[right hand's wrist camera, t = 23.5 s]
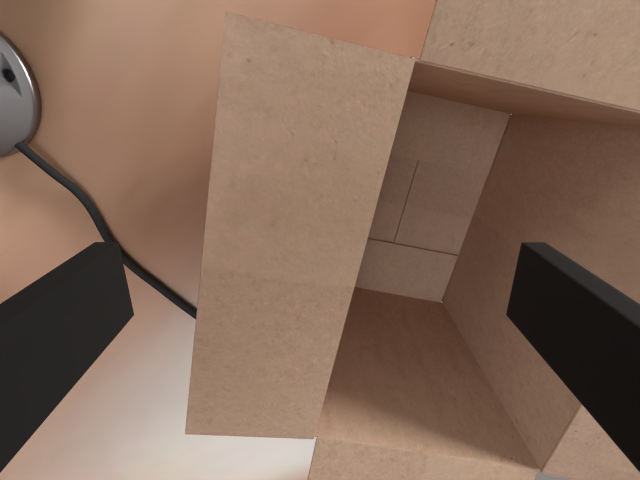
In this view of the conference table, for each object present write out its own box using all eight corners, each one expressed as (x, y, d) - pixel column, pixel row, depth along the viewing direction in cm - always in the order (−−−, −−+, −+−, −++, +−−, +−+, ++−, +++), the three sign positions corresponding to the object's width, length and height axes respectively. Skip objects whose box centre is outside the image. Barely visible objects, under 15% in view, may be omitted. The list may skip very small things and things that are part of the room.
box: (478, 361, 56) (611, 584, 30) (243, 321, 53) (173, 528, 28) (619, 43, 40) (1131, -46, 15) (297, -36, 38) (250, -307, 12)
